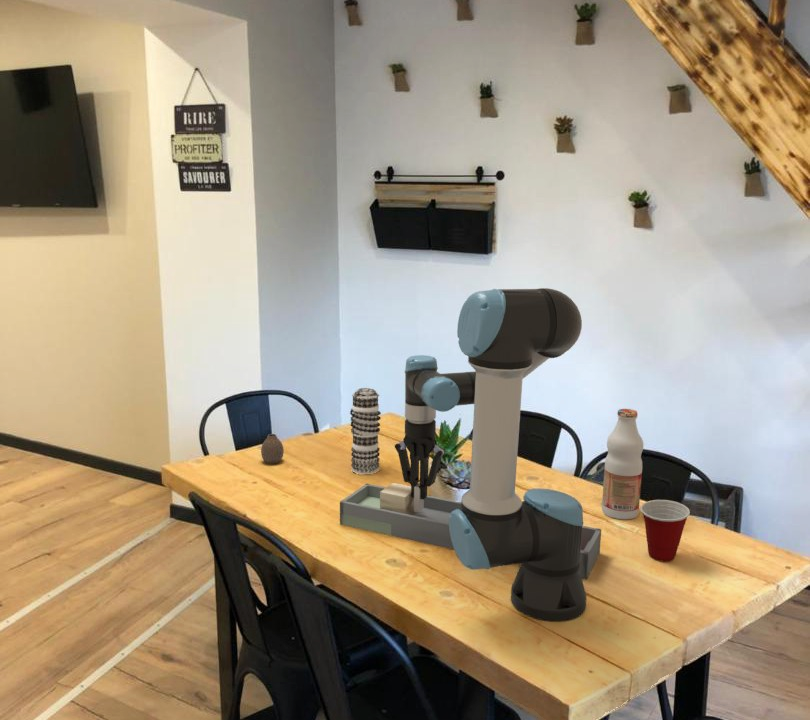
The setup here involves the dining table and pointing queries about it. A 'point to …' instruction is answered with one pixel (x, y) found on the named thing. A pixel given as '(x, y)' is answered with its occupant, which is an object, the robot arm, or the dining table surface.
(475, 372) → the robot arm
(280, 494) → the dining table surface
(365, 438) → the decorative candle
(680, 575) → the dining table surface
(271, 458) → the vase
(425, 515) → the tray
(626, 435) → the fruit juice
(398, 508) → the beech block
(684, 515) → the plastic cup
